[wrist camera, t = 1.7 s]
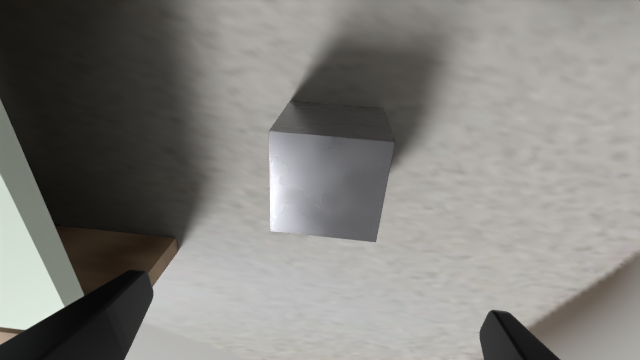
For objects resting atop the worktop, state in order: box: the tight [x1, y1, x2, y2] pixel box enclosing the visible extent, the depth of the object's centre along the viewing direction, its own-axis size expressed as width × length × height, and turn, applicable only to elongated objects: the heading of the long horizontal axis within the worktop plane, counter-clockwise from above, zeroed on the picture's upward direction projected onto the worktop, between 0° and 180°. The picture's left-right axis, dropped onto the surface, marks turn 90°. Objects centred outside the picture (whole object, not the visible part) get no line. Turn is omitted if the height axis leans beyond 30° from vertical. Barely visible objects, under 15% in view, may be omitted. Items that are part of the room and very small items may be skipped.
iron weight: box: [269, 101, 395, 242], centre depth 16 cm, size 5×5×5 cm
